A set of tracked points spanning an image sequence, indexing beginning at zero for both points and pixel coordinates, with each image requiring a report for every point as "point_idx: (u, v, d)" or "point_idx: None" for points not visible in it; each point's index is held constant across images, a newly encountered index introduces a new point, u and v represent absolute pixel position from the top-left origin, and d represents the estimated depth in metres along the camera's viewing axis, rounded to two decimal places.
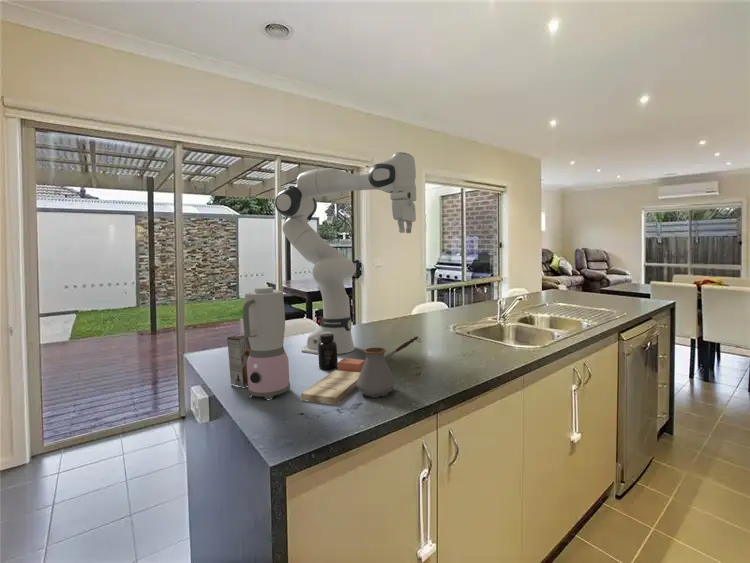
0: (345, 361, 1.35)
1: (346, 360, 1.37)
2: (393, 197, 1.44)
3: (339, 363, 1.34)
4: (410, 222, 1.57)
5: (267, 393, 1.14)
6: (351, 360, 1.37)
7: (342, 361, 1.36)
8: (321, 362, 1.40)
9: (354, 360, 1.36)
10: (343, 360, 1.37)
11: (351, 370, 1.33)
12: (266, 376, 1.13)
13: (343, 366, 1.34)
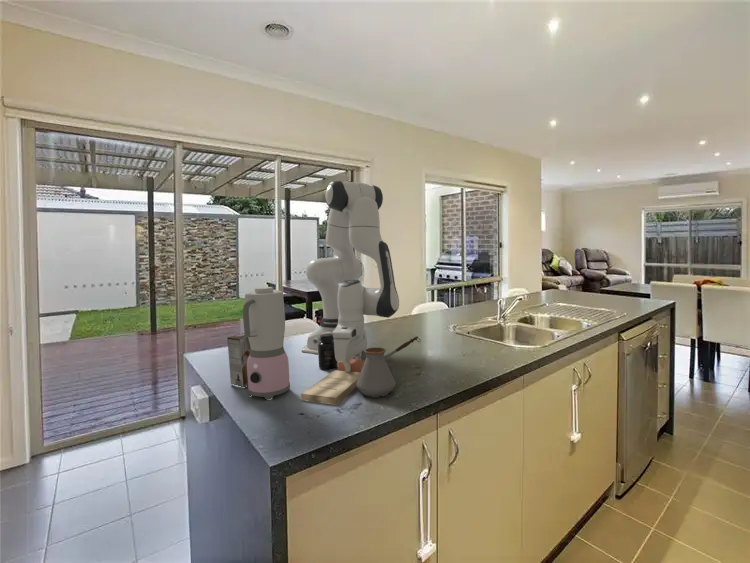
0: None
1: None
2: (336, 336, 1.27)
3: (339, 363, 1.34)
4: (359, 353, 1.39)
5: (267, 393, 1.14)
6: (350, 360, 1.37)
7: None
8: (321, 362, 1.40)
9: (353, 360, 1.36)
10: None
11: (351, 370, 1.33)
12: (266, 376, 1.13)
13: (343, 366, 1.34)
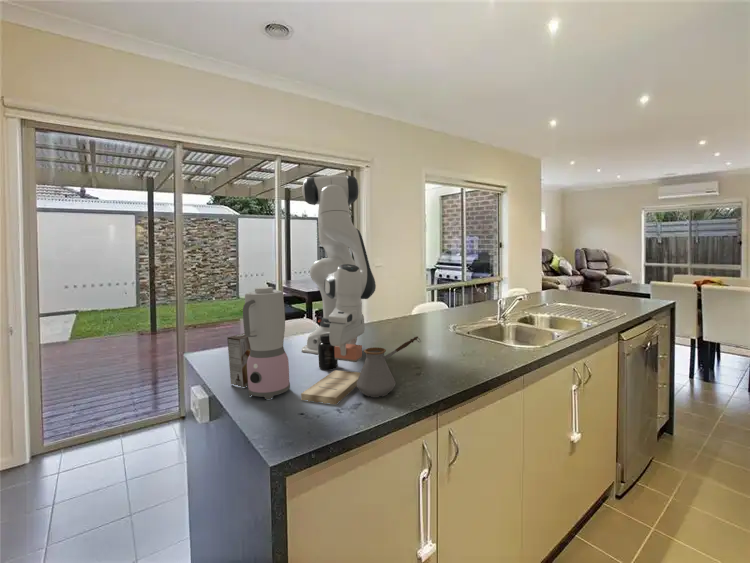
0: None
1: None
2: (331, 320, 1.27)
3: (336, 347, 1.35)
4: (354, 338, 1.39)
5: (267, 393, 1.14)
6: (348, 344, 1.37)
7: None
8: (321, 362, 1.40)
9: (350, 345, 1.36)
10: None
11: (347, 355, 1.33)
12: (266, 376, 1.13)
13: (340, 350, 1.34)
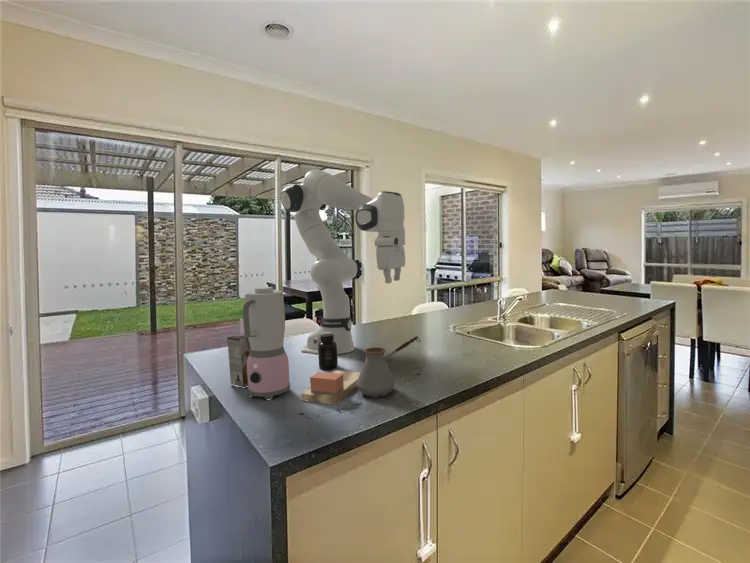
0: (319, 376, 1.14)
1: (321, 374, 1.15)
2: (378, 244, 1.24)
3: (312, 378, 1.13)
4: (398, 268, 1.37)
5: (267, 393, 1.14)
6: (326, 374, 1.16)
7: (316, 376, 1.14)
8: (321, 362, 1.40)
9: (329, 374, 1.15)
10: (317, 374, 1.15)
11: (325, 387, 1.12)
12: (266, 376, 1.13)
13: (316, 382, 1.13)
